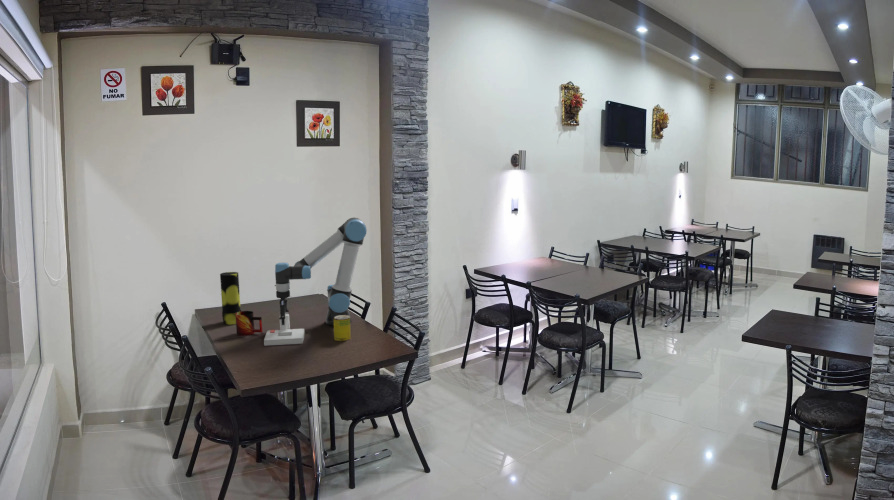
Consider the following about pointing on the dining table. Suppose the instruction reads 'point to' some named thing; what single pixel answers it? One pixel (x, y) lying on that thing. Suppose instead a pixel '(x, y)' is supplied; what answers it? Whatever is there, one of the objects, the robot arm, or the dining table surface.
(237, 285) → the container
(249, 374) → the dining table surface
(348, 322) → the yellow can
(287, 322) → the plug
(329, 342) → the dining table surface
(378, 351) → the dining table surface
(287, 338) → the socket
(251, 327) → the mug
